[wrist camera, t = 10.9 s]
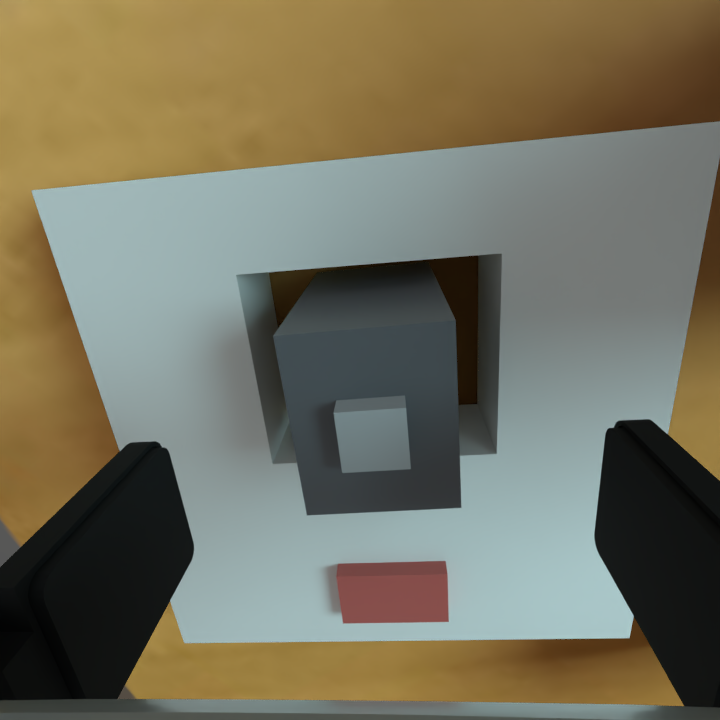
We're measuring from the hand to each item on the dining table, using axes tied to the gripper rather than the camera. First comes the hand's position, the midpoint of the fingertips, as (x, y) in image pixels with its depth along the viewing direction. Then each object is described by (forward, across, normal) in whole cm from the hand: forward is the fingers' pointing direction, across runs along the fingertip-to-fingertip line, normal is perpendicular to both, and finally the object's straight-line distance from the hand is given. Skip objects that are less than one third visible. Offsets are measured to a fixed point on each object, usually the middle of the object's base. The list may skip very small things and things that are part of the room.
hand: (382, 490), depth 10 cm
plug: (+8, 0, -1) cm, 8 cm away
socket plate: (+8, 0, +2) cm, 9 cm away
